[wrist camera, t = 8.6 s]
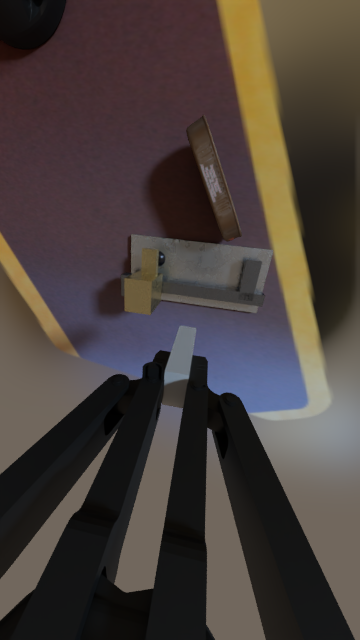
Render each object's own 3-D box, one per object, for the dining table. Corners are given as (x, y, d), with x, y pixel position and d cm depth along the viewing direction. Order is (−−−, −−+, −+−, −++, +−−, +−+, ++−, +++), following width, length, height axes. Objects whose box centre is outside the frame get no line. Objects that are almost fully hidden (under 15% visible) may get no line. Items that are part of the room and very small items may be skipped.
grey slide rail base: (131, 244, 36) (120, 245, 32) (270, 261, 34) (278, 264, 29) (131, 289, 39) (121, 295, 35) (258, 307, 37) (264, 316, 33)
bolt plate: (133, 234, 36) (131, 234, 35) (271, 250, 34) (273, 250, 33) (132, 293, 40) (130, 295, 39) (255, 311, 38) (256, 313, 37)
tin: (240, 235, 34) (248, 235, 26) (221, 243, 35) (224, 245, 27) (207, 132, 29) (205, 95, 22) (187, 144, 30) (179, 113, 22)
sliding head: (144, 246, 35) (124, 249, 27) (167, 249, 35) (153, 253, 27) (143, 294, 39) (124, 310, 31) (163, 297, 38) (150, 314, 30)
